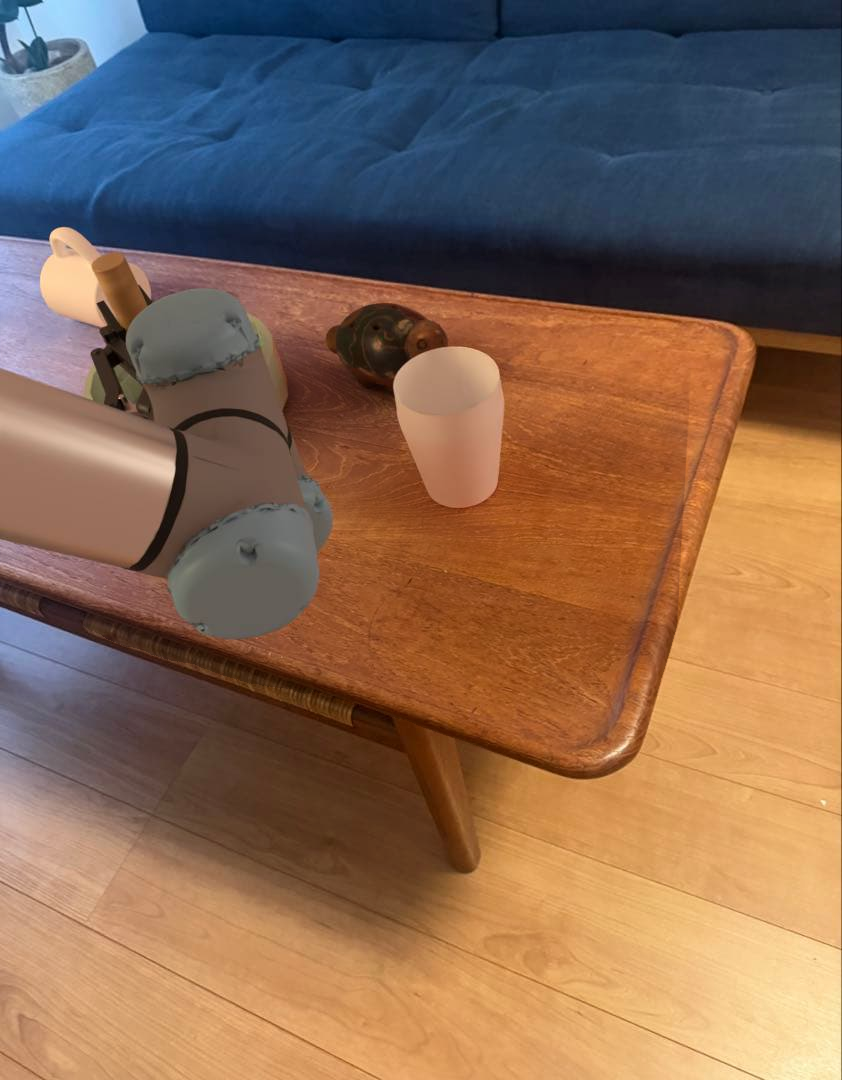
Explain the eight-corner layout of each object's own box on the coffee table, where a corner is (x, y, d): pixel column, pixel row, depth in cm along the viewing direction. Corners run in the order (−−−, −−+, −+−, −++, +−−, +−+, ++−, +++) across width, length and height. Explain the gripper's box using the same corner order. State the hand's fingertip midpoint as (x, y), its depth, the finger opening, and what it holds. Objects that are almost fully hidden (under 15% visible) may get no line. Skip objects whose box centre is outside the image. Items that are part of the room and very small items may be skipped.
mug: (115, 346, 99) (68, 256, 90) (60, 329, 103) (10, 242, 94) (161, 308, 103) (121, 219, 94) (106, 293, 107) (62, 206, 98)
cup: (403, 515, 74) (378, 413, 65) (426, 446, 79) (406, 343, 70) (501, 523, 71) (490, 419, 62) (518, 451, 77) (510, 346, 68)
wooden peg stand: (148, 438, 82) (67, 288, 69) (151, 399, 86) (76, 251, 74) (210, 424, 82) (141, 271, 69) (210, 385, 86) (145, 235, 74)
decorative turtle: (439, 417, 82) (420, 354, 76) (316, 396, 88) (290, 336, 82) (478, 355, 86) (464, 290, 80) (359, 340, 93) (337, 279, 87)
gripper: (137, 506, 67) (64, 371, 81) (309, 418, 71) (210, 305, 85) (96, 438, 61) (25, 306, 75) (285, 347, 65) (184, 238, 79)
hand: (123, 306), depth 80 cm, fingers closed on wooden peg stand, 3 cm apart
